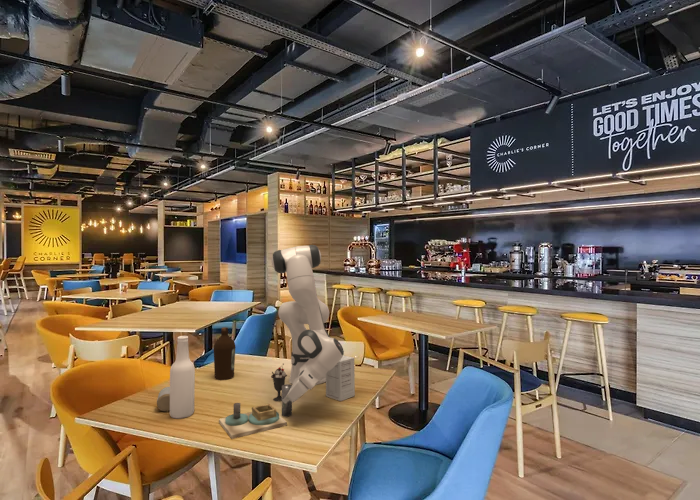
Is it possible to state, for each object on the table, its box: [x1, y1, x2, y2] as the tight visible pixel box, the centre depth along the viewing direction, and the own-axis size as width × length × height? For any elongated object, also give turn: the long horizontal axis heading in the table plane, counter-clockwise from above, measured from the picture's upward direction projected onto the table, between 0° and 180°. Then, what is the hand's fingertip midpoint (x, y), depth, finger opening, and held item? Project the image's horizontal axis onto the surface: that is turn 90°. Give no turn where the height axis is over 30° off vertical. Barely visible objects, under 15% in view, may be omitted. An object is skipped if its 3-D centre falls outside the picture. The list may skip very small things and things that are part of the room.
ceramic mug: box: [156, 386, 170, 412], centre depth 159 cm, size 11×8×8 cm
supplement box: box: [325, 355, 356, 402], centre depth 173 cm, size 10×9×17 cm
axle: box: [281, 383, 293, 418], centre depth 152 cm, size 4×4×11 cm
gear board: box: [218, 402, 288, 440], centre depth 144 cm, size 20×16×7 cm
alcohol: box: [169, 335, 196, 420], centre depth 153 cm, size 9×9×30 cm
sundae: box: [271, 363, 288, 402], centre depth 169 cm, size 7×7×15 cm
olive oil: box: [213, 326, 236, 381], centre depth 200 cm, size 11×11×25 cm
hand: (285, 399), depth 152 cm, fingers closed on axle, 4 cm apart
